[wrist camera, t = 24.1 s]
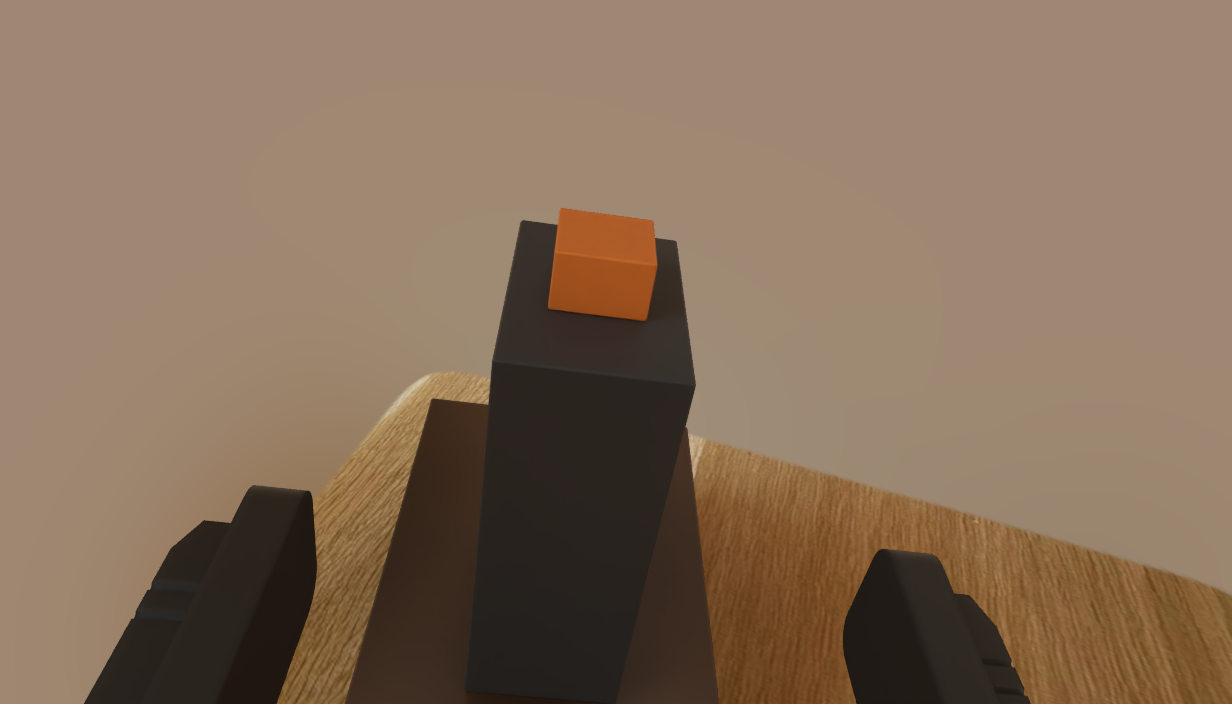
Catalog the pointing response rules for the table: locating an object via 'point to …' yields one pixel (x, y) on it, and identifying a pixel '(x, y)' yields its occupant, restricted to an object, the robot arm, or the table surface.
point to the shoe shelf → (444, 577)
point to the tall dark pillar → (577, 454)
